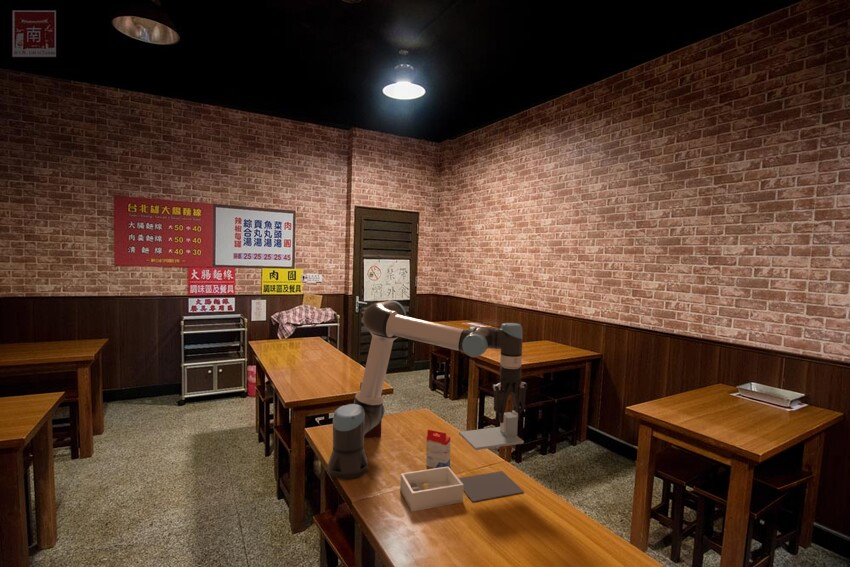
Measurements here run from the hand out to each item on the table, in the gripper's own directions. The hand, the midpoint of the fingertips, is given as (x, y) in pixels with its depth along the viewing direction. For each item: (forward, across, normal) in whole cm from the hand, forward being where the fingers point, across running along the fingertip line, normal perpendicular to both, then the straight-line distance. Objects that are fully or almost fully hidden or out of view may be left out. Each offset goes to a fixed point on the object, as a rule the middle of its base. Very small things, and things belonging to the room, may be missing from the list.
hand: (508, 430), depth 151 cm
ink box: (+20, -20, +19) cm, 34 cm away
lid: (+4, -7, 0) cm, 8 cm away
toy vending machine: (+20, -38, +57) cm, 72 cm away
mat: (+20, -8, 0) cm, 21 cm away
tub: (+20, -30, 0) cm, 35 cm away
